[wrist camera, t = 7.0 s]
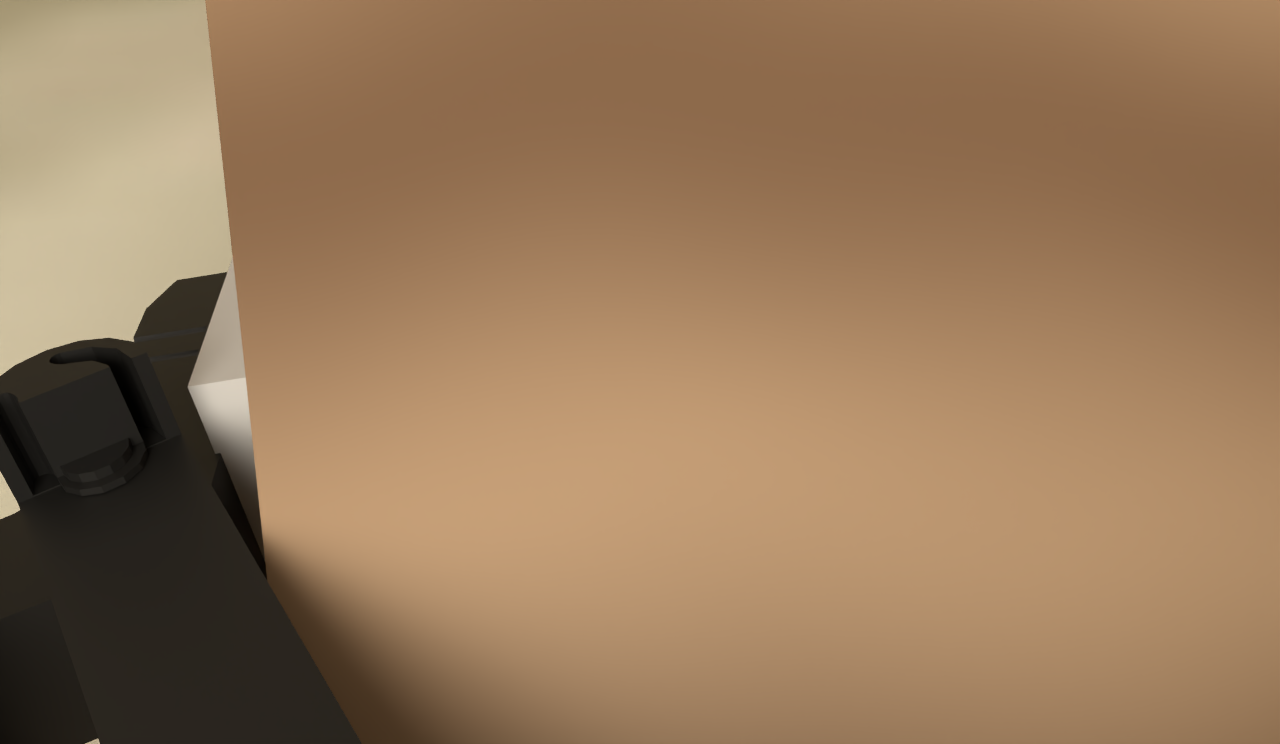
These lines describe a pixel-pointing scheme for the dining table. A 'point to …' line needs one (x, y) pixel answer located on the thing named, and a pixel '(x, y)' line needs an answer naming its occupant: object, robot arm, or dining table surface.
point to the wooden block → (766, 364)
